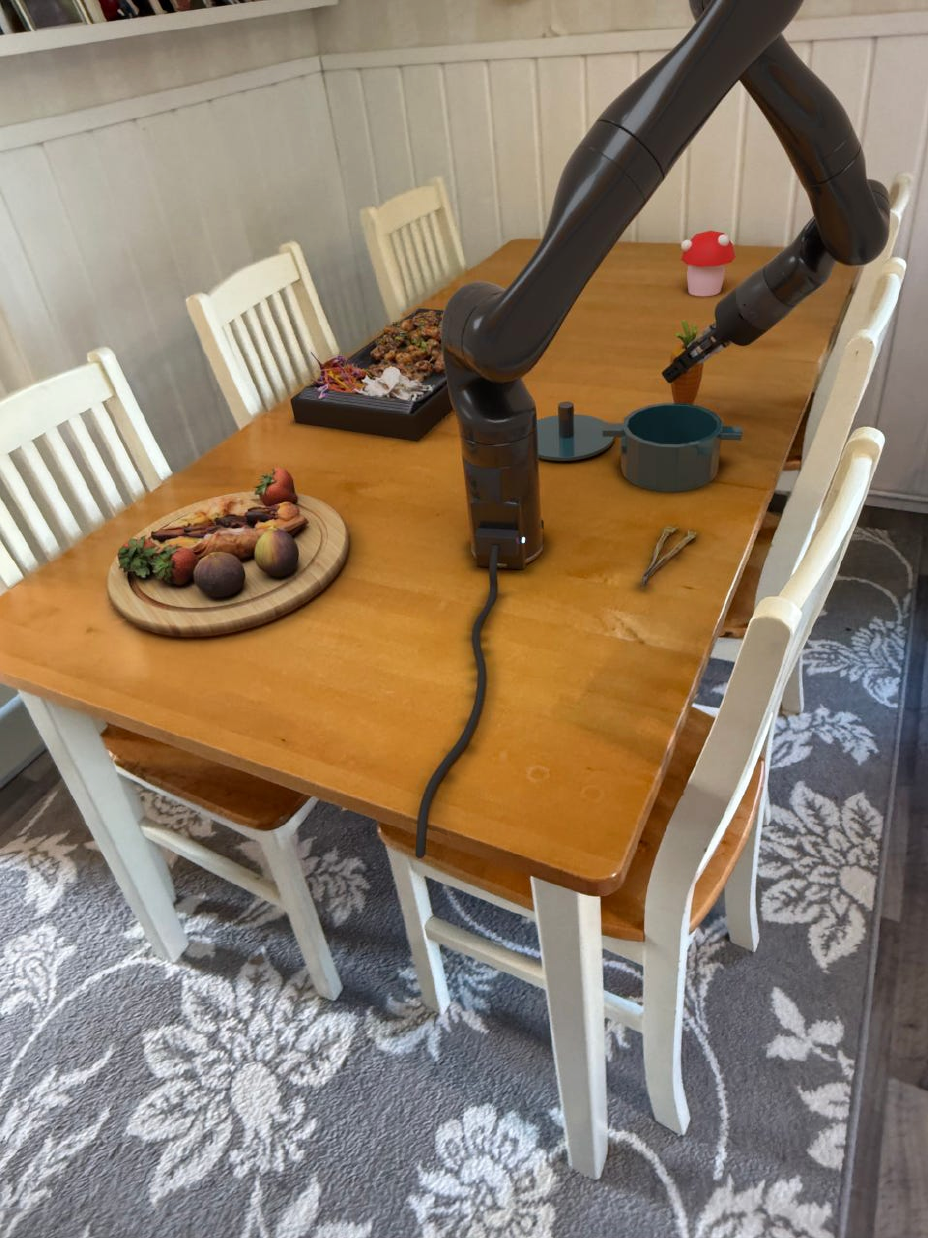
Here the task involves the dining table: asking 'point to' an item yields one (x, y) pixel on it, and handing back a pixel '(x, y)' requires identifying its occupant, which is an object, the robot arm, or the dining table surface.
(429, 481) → the dining table surface
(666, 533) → the tongs
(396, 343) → the food platter
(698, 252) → the mushroom
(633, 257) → the dining table surface
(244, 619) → the wooden plate
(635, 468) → the saucepan
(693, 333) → the carrot
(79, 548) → the dining table surface
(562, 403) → the pan lid
